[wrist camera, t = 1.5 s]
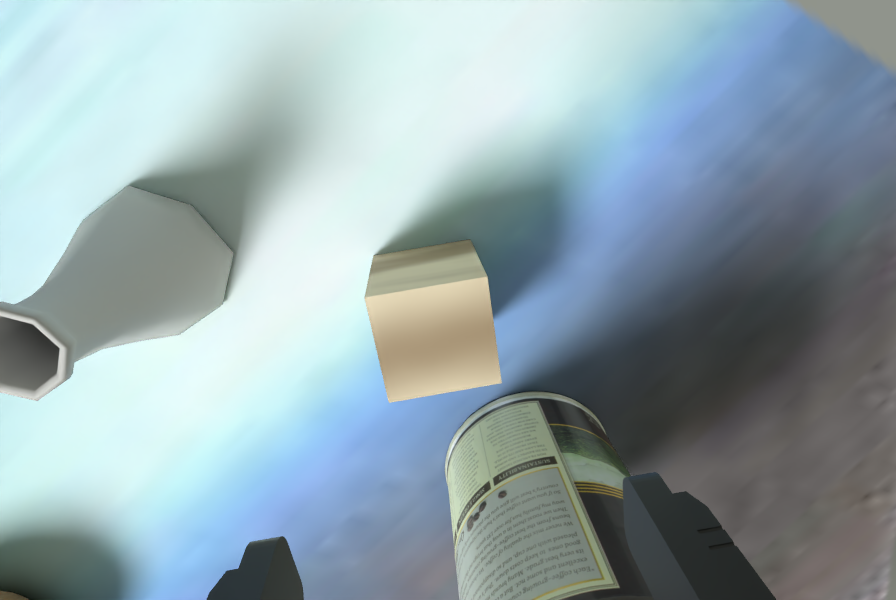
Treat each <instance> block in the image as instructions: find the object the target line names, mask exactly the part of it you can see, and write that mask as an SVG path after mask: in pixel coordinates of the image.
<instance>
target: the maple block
mask: <svg viewBox="0 0 896 600" xmlns="http://www.w3.org/2000/svg"><path fill="white" fill-rule="evenodd" d="M365 301H366V306H367V310H368V314H369V319H370V323H371V327H372V332H373V336H374V340H375V345H376V349H377V353H378V358H379V362H380V366H381V371H382V375H383V379H384V384H385V388H386V392H387V397H388V401H389V403H390V402H396V401H402V400H407V399H413V398H419V397H424V396H430V395H436V394H442V393H447V392H453V391H459V390H465V389H470V388H476V387H482V386H488V385H493V384H499V383H502V382H501V375H500V367H499V360H498V352H497V345H496V337H495V330H494V322H493V314H492V307H491V299H490V292H489V284H488V277H487V274H486V272H485V270H484V268H483V266H482V264H481V261H480V259H479V257H478V255H477V253H476V250H475V248H474V246H473V244H472V242H471V240H470V239H468V240H462V241H457V242H451V243H445V244H439V245H433V246H427V247H421V248H415V249H409V250H404V251H398V252H392V253H386V254H380V255H374V256H373V260H372V265H371V270H370V274H369V279H368V284H367V289H366V293H365Z"/></svg>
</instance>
